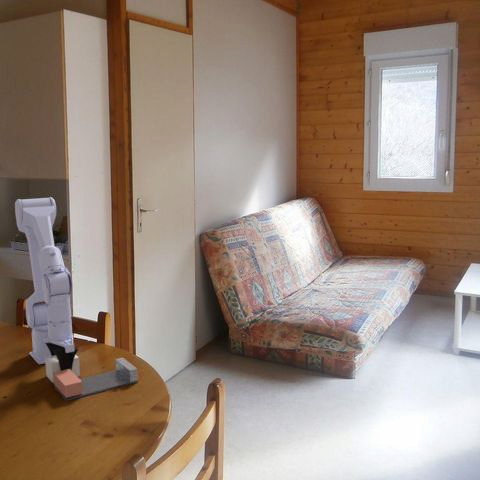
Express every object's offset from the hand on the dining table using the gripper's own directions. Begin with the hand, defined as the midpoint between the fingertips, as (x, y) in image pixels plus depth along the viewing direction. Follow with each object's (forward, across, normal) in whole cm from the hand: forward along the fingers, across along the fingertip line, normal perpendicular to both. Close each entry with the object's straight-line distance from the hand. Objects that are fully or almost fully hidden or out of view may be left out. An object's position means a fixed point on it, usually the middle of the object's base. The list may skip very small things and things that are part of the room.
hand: (62, 370), depth 150 cm
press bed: (+1, +10, +5) cm, 11 cm away
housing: (+1, 0, 0) cm, 1 cm away
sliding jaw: (+1, +10, -2) cm, 10 cm away
